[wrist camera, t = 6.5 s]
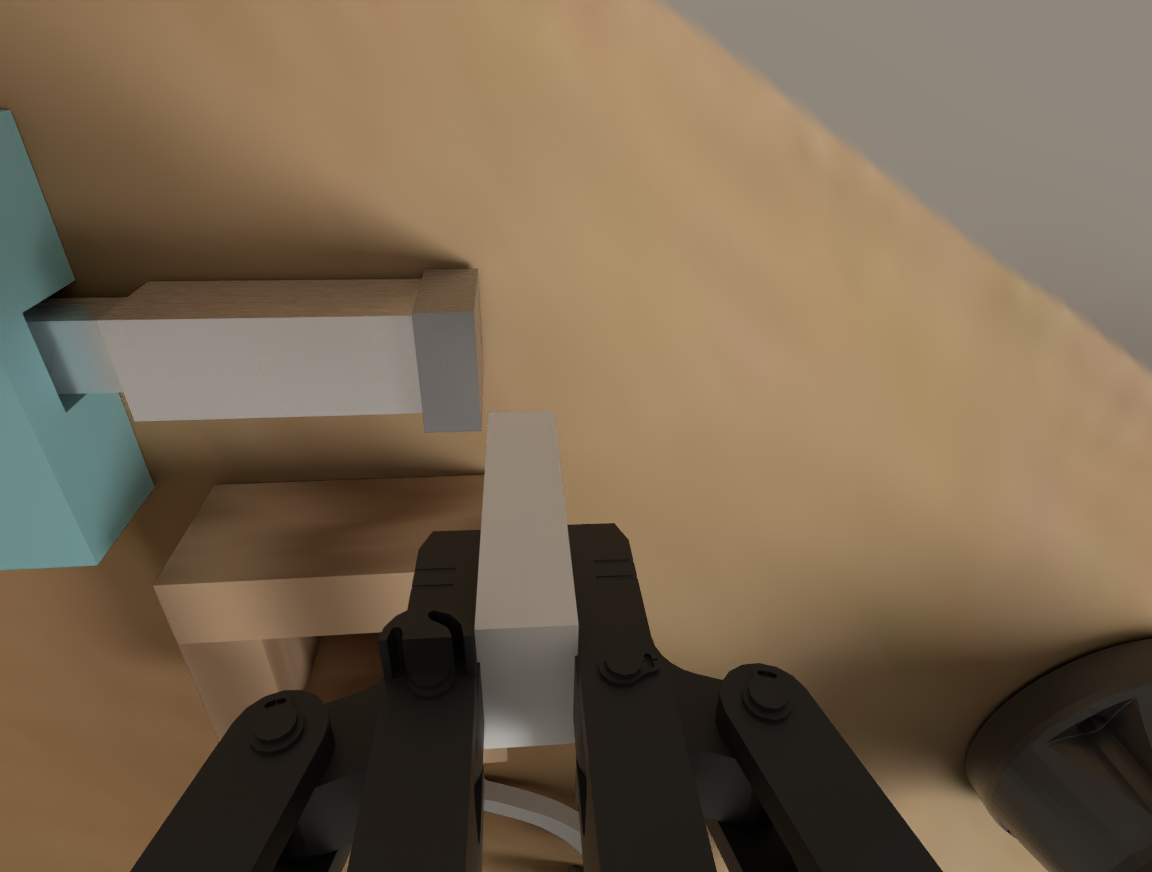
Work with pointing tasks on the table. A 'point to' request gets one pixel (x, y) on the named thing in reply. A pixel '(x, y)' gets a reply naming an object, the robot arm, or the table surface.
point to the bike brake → (535, 812)
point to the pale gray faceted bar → (275, 348)
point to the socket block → (51, 404)
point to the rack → (302, 583)
